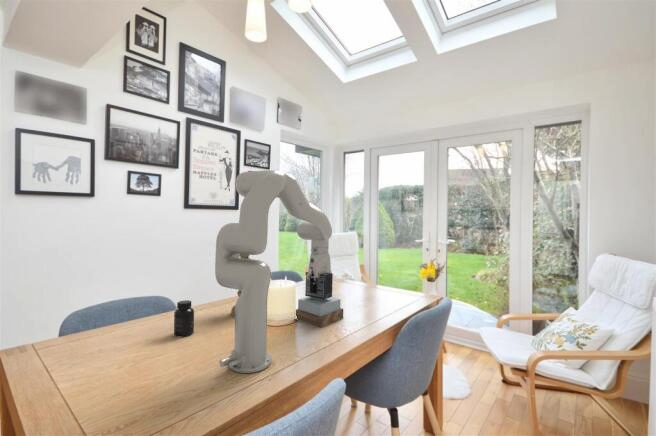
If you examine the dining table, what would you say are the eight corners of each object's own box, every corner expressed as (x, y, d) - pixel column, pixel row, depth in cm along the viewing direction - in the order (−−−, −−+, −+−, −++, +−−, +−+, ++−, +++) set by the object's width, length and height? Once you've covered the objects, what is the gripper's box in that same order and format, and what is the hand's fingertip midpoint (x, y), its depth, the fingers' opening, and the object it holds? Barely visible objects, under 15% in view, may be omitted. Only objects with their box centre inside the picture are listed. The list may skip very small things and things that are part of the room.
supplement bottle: (197, 333, 117) (197, 302, 116) (178, 339, 112) (178, 305, 111) (189, 328, 121) (189, 298, 121) (170, 333, 116) (171, 301, 116)
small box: (333, 296, 135) (333, 272, 135) (324, 300, 130) (325, 275, 129) (313, 292, 141) (313, 269, 141) (304, 296, 135) (305, 271, 135)
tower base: (321, 328, 125) (321, 317, 125) (294, 320, 135) (294, 309, 134) (343, 319, 137) (343, 308, 137) (317, 311, 146) (317, 302, 146)
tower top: (320, 316, 126) (320, 305, 126) (298, 309, 135) (298, 299, 135) (340, 309, 136) (340, 299, 136) (318, 303, 145) (318, 293, 145)
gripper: (313, 253, 126) (312, 297, 126) (338, 249, 139) (337, 289, 140) (299, 251, 130) (298, 293, 131) (325, 248, 144) (324, 286, 144)
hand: (318, 291), depth 135 cm, fingers closed on small box, 6 cm apart
